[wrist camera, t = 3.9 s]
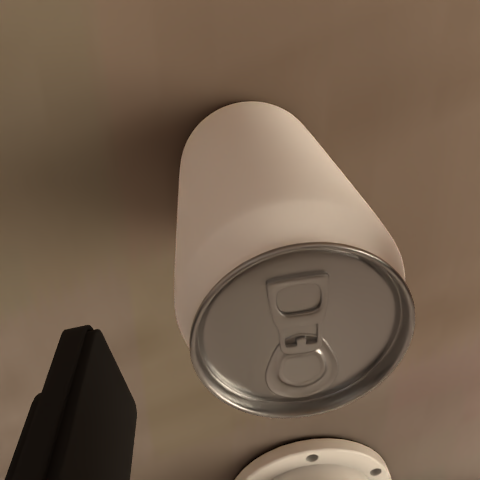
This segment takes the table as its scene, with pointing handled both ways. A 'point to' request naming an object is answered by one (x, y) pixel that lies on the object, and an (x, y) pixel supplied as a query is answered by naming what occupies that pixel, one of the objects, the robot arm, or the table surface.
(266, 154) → the can
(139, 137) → the table surface
